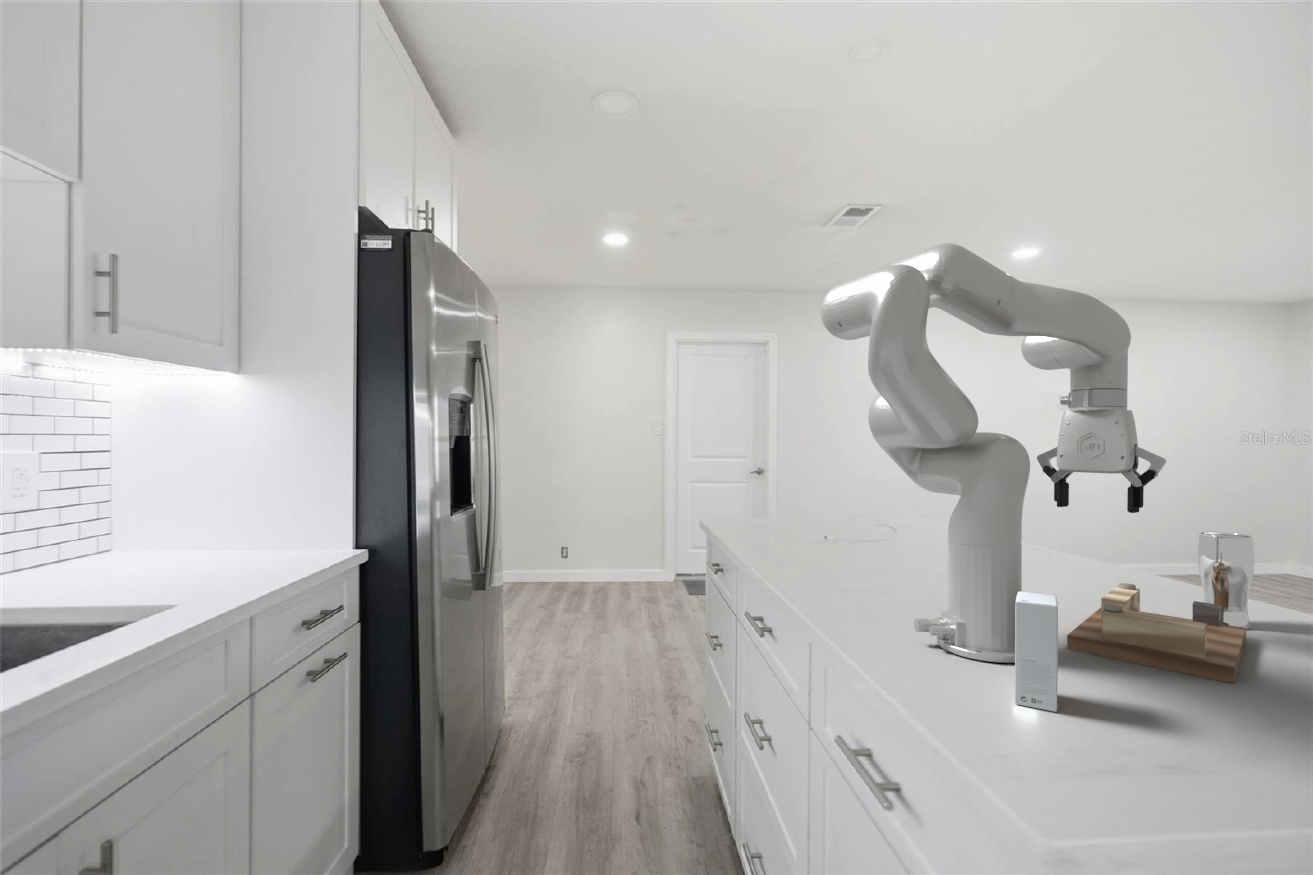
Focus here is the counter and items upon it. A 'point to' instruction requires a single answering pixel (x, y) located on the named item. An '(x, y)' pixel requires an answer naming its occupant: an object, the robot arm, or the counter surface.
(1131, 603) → the hinged leg
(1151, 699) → the counter surface
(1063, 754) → the counter surface
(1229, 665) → the stool frame
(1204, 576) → the beer glass
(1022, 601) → the skincare box
